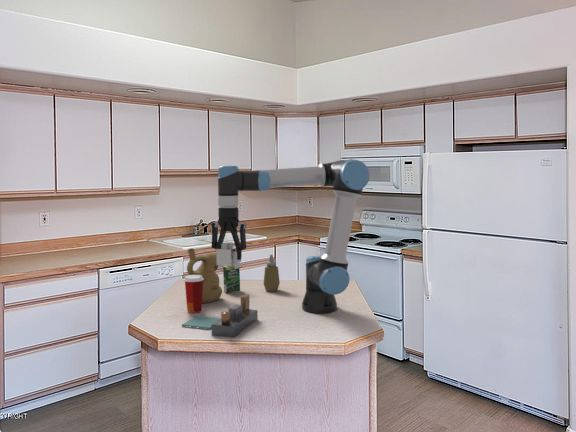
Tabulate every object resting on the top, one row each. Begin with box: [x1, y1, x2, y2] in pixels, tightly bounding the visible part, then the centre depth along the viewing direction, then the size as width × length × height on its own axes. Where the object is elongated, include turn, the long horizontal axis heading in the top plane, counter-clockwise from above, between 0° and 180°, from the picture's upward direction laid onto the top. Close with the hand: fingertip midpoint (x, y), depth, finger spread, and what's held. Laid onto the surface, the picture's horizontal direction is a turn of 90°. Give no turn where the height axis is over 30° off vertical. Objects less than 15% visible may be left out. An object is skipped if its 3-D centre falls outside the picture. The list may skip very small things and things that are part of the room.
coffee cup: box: [183, 274, 204, 314], centre depth 207 cm, size 8×8×15 cm
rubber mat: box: [181, 315, 221, 330], centre depth 191 cm, size 12×12×1 cm
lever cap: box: [215, 241, 242, 266], centre depth 184 cm, size 6×9×8 cm, turn 162°
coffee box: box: [222, 264, 241, 294], centre depth 240 cm, size 8×3×13 cm, turn 125°
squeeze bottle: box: [263, 254, 281, 293], centre depth 241 cm, size 8×8×18 cm
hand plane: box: [211, 293, 259, 338], centre depth 186 cm, size 9×22×10 cm, turn 161°
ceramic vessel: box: [186, 248, 223, 304], centre depth 224 cm, size 17×20×25 cm
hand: (229, 267), depth 185 cm, fingers closed on lever cap, 6 cm apart
